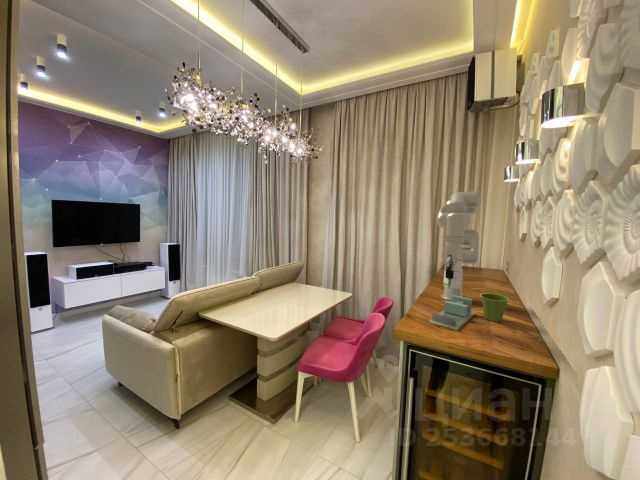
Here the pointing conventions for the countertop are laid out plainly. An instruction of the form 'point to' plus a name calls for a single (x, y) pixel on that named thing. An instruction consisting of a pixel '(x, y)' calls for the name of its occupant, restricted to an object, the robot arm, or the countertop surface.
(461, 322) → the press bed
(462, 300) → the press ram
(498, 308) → the plant pot
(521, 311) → the countertop surface
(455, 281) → the syrup box
